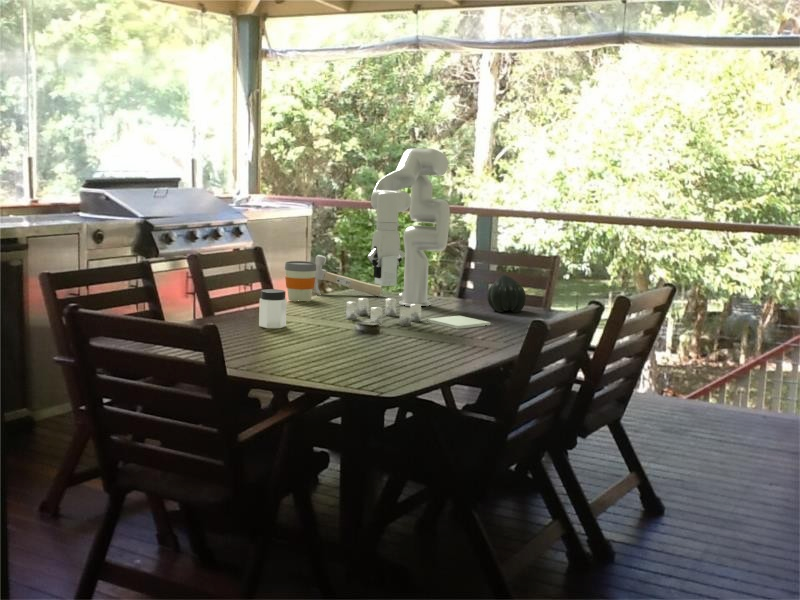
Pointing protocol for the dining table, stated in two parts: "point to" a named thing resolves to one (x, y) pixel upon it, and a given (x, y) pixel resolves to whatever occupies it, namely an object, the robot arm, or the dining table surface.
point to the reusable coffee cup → (300, 280)
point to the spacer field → (390, 310)
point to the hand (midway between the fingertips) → (385, 276)
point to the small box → (388, 271)
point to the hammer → (342, 279)
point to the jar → (272, 308)
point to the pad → (458, 322)
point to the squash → (506, 295)
